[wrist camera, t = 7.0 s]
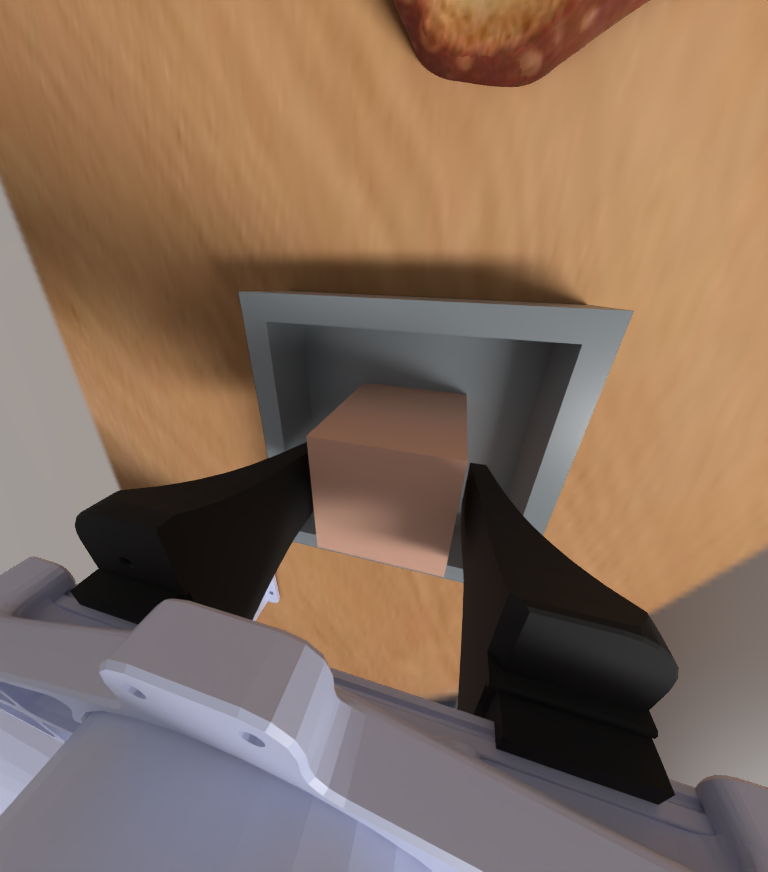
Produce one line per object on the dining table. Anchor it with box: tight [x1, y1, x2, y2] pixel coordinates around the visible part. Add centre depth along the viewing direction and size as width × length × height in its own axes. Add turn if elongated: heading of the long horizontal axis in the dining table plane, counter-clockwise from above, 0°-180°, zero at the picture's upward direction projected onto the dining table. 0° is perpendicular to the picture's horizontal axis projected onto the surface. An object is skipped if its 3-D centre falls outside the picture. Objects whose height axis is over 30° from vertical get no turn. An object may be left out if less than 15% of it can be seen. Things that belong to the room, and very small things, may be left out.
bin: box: [238, 291, 634, 583], centre depth 14 cm, size 13×13×4 cm
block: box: [306, 383, 468, 577], centre depth 12 cm, size 5×5×6 cm
